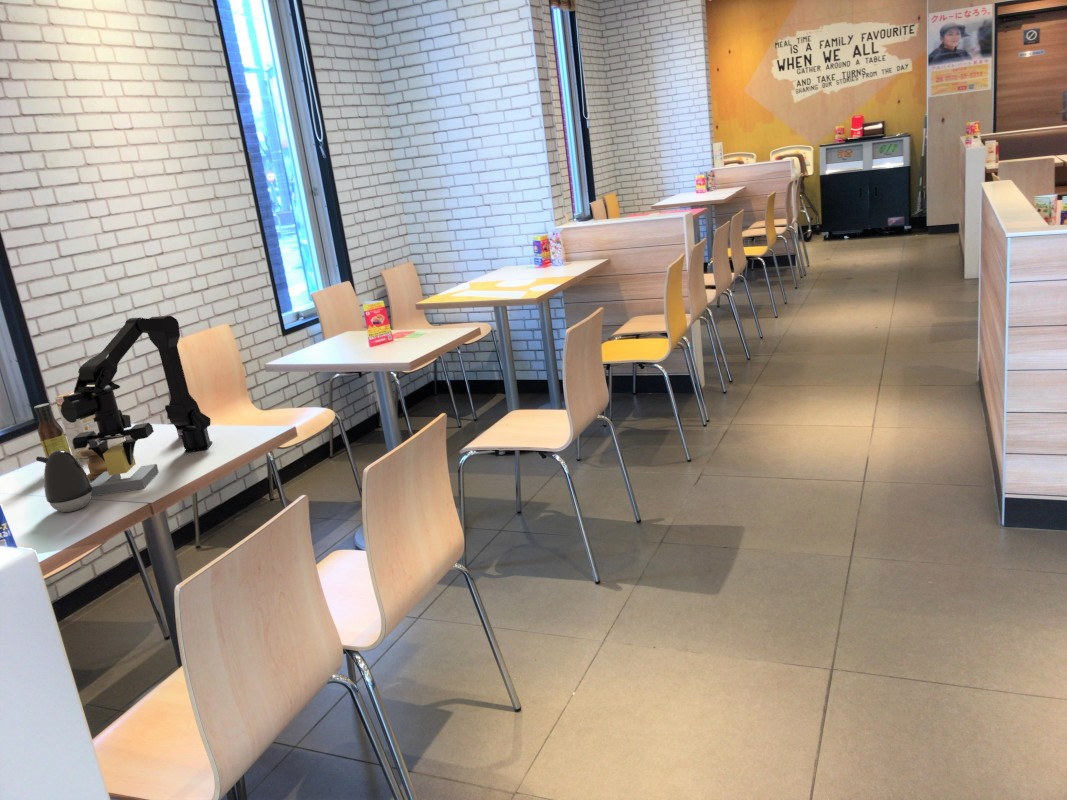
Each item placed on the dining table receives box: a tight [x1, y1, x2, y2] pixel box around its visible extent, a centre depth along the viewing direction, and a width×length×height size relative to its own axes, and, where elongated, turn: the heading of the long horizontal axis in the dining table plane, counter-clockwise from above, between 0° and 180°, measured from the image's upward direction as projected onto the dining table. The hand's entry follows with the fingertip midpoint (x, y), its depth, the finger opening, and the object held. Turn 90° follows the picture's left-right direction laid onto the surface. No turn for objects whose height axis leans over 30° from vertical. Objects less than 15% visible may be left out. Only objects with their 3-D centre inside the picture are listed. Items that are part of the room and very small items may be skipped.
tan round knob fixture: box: [80, 447, 109, 482], centre depth 231 cm, size 7×7×8 cm
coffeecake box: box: [54, 385, 125, 460], centre depth 256 cm, size 15×7×20 cm, turn 164°
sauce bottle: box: [33, 402, 72, 458], centre depth 239 cm, size 6×6×20 cm
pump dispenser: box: [35, 450, 92, 513], centre depth 208 cm, size 10×10×15 cm
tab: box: [103, 443, 137, 476], centre depth 222 cm, size 7×4×6 cm, turn 6°
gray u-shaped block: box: [90, 463, 160, 497], centre depth 222 cm, size 14×12×2 cm
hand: (121, 466), depth 222 cm, fingers closed on tab, 4 cm apart
